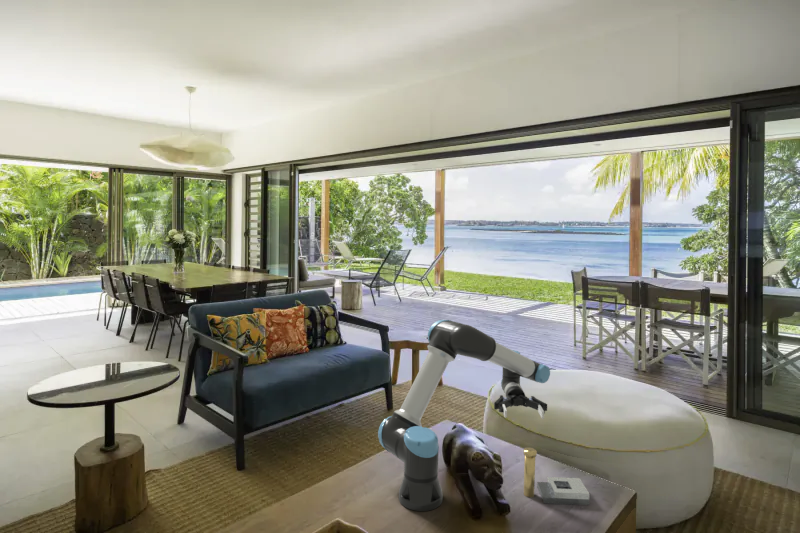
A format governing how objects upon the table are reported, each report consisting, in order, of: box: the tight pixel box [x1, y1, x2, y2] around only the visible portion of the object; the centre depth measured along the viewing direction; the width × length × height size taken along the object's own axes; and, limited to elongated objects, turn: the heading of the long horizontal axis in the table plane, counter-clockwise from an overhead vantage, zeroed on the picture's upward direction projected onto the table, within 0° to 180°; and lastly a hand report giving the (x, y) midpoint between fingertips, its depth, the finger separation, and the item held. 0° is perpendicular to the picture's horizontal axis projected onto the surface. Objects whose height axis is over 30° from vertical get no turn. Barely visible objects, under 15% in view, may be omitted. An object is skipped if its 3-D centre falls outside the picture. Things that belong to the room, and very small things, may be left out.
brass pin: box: [523, 447, 538, 498], centre depth 162 cm, size 4×4×16 cm
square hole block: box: [536, 476, 590, 506], centre depth 161 cm, size 15×10×4 cm, turn 87°
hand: (524, 414), depth 171 cm, fingers open, 13 cm apart
